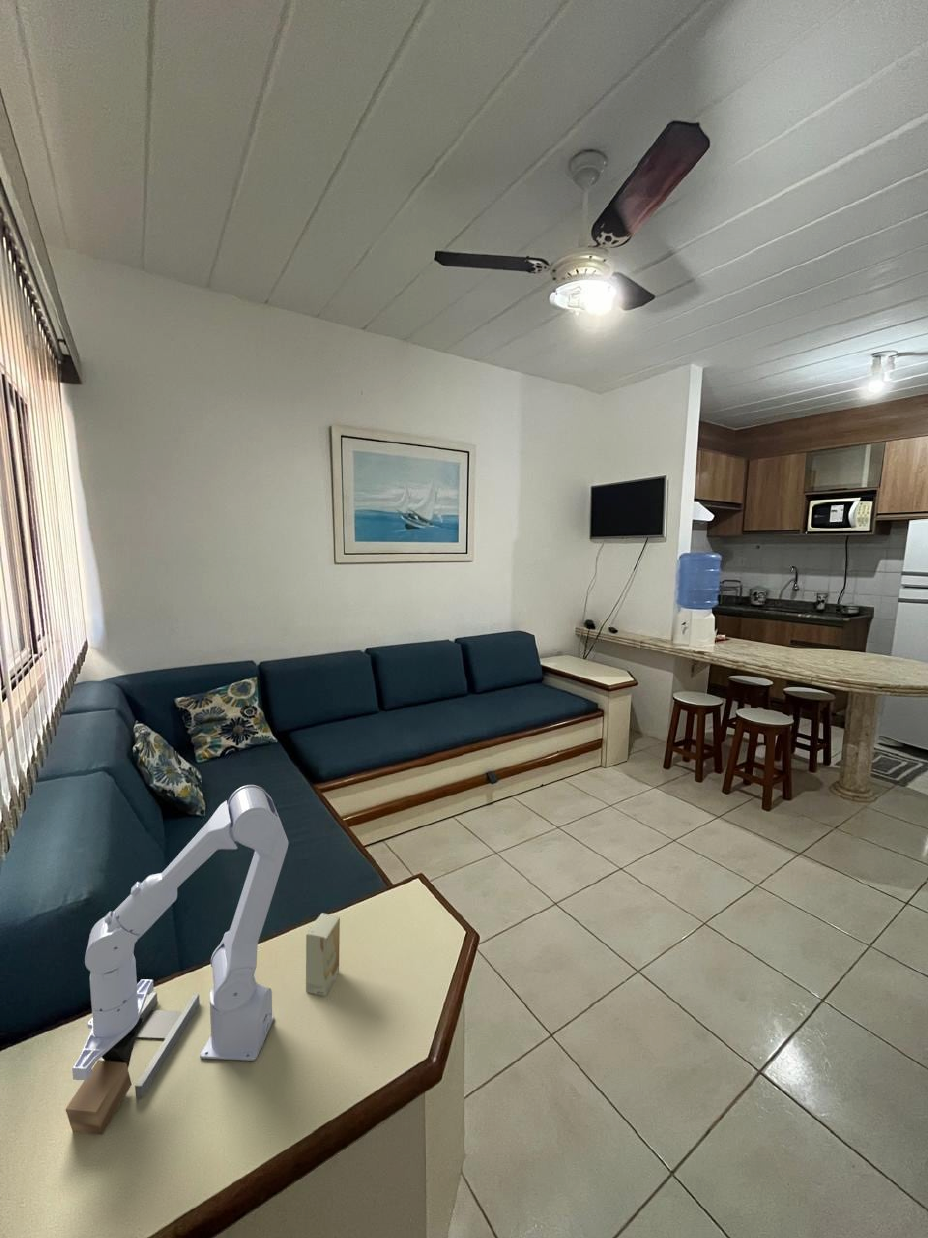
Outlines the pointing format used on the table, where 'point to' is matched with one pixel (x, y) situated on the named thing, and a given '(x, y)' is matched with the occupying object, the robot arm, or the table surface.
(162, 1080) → the table surface
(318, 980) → the skincare box
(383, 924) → the table surface
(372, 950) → the table surface
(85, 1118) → the walnut block
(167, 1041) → the channel
